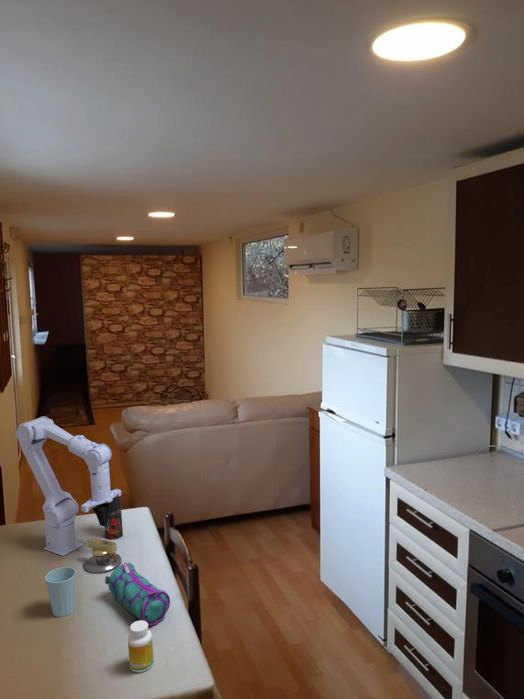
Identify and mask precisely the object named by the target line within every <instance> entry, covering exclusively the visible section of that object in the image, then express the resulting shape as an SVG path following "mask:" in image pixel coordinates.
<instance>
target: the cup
mask: <svg viewBox="0 0 524 699" xmlns="http://www.w3.org/2000/svg"><path fill="white" fill-rule="evenodd" d="M76 576H77V570H76V569H75V568H73V567H70V566H63V567H62V566H61V567H56V568H55V569H52V570H51V571H49V572H48V573H47V574H46V575H45V577H44V581H45V584H46V588H47V589H46V590H47V593H48V597H49V602H50V606H51V611H52V615H53V616H54V617H57V618H62V617H67V616H69V615H71V614H72V613H73V612H74V611H75V608H76V607H75V606H76V578H77V577H76Z"/></svg>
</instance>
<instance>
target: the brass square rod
mask: <svg viewBox="0 0 524 699" xmlns="http://www.w3.org/2000/svg"><path fill="white" fill-rule="evenodd" d="M86 543H87V544H86V546H87V548H89V549H91V554H92V556H94V557H104V556H107V555H112V554H113V553H114V552H115V551H116V552H117V551H118V550H117V549H118V548H117V542H114V541H112V540H108V539H106V540H105V539H102V538H98V537H93V536H90V537H89V538H87V539H86Z"/></svg>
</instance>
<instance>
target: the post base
mask: <svg viewBox="0 0 524 699" xmlns="http://www.w3.org/2000/svg"><path fill="white" fill-rule="evenodd" d="M116 552H117V551H115V552H114V553H113V554H112V555H107V556H104V557H94V556H93V555H92V556H91V557H89V558H87V559H86V560H85V562H84V564H83V565H84V566H83V567H84V570H85V572H87V573H90V574H96V575H97V574H98V575H100V574H106V573H109V572H113V571H114V570H115V569H116V568H117V567H119V566H121V565H122V556H121V555H120V554H119V553H116Z"/></svg>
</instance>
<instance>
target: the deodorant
mask: <svg viewBox="0 0 524 699" xmlns="http://www.w3.org/2000/svg"><path fill="white" fill-rule="evenodd" d="M112 502H113V503H114V505H113V507H112V509H111V512H110V515H109V519H108V525H106V526H103V527H104V538H105V539H106V540H107V541H115V540H118V539H120V538H122V537H123V536H124V532H123V518H122V517H123V516H122V502H121V496H117V497H115V498H113V501H112Z"/></svg>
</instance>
